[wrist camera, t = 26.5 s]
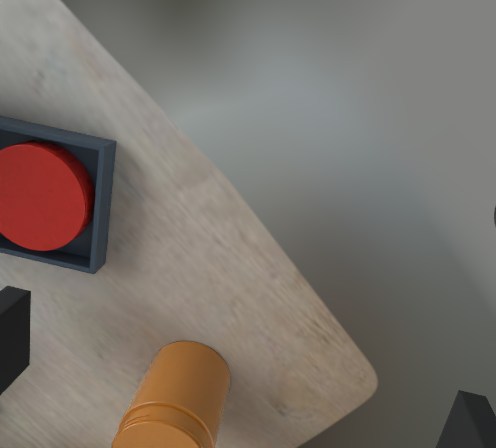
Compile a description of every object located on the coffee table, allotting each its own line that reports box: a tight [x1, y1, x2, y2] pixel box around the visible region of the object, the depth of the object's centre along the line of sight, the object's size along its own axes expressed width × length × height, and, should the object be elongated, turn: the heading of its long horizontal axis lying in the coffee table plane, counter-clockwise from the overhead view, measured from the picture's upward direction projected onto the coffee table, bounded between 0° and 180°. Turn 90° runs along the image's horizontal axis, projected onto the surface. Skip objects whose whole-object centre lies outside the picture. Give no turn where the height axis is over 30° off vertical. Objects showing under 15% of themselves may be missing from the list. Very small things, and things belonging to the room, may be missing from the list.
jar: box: [112, 341, 231, 448], centre depth 44 cm, size 8×8×11 cm
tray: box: [0, 116, 116, 274], centre depth 43 cm, size 12×12×2 cm
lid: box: [0, 140, 95, 251], centre depth 42 cm, size 10×10×2 cm
